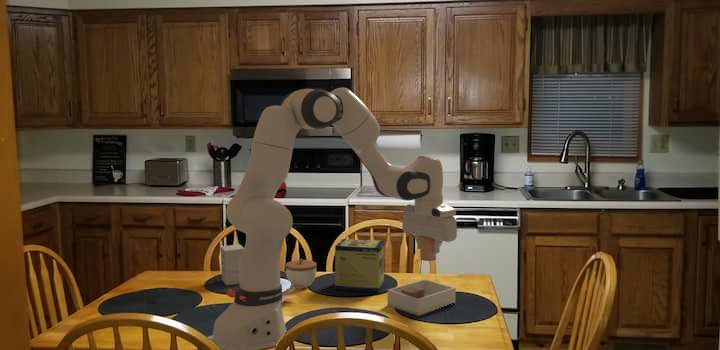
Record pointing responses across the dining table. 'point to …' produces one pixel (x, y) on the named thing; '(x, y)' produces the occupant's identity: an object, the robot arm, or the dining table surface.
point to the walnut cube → (413, 292)
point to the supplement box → (231, 263)
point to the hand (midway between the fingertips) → (428, 250)
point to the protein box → (359, 265)
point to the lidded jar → (301, 272)
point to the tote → (432, 299)
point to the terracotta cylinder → (427, 249)
